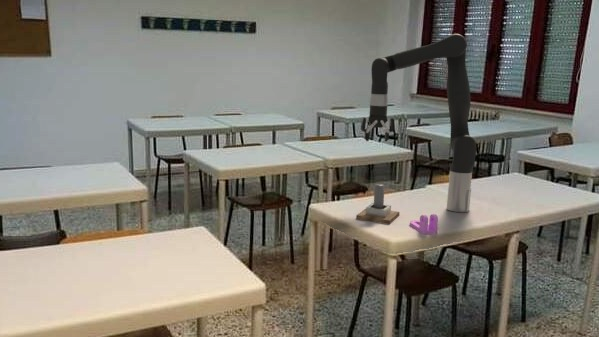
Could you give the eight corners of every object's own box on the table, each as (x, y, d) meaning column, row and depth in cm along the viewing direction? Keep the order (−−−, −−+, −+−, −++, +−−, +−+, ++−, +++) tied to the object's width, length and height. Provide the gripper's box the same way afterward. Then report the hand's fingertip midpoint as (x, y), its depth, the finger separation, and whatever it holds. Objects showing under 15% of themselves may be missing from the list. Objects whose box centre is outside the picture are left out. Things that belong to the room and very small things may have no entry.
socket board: (399, 215, 226) (400, 204, 225) (389, 224, 214) (390, 213, 213) (367, 210, 232) (367, 200, 231) (356, 218, 219) (356, 208, 218)
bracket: (437, 233, 204) (438, 215, 203) (423, 234, 203) (425, 216, 201) (419, 223, 217) (420, 206, 215) (407, 224, 215) (408, 207, 213)
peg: (384, 212, 223) (385, 184, 221) (381, 215, 220) (382, 186, 217) (375, 211, 225) (376, 183, 223) (371, 213, 222) (373, 185, 219)
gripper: (364, 105, 231) (362, 142, 235) (397, 105, 233) (394, 142, 237) (360, 103, 239) (358, 139, 242) (392, 103, 240) (389, 139, 244)
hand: (376, 141), depth 239 cm, fingers open, 8 cm apart
